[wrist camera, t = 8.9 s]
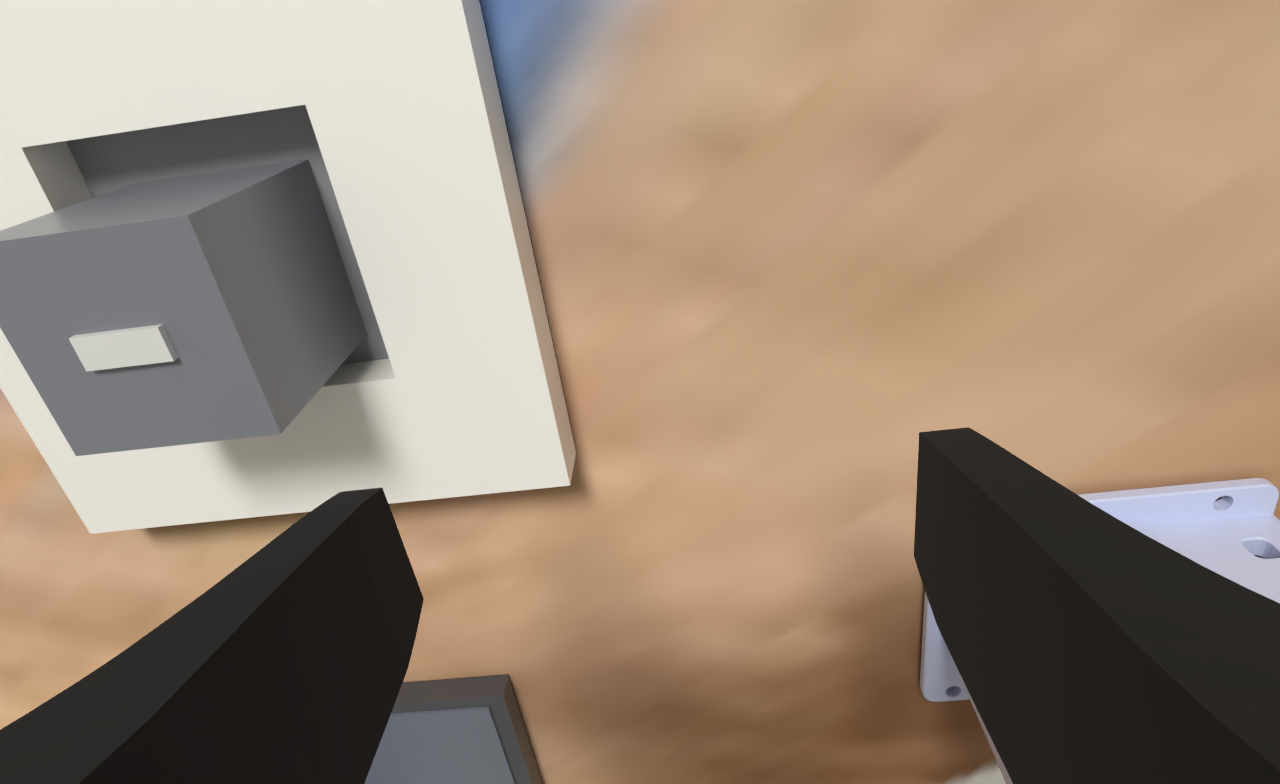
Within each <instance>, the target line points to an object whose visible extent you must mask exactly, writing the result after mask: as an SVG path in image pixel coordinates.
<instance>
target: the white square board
mask: <svg viewBox="0 0 1280 784" xmlns="http://www.w3.org/2000/svg"><path fill="white" fill-rule="evenodd" d="M307 159H308V160H309V163H310V166H311V169H312V172H313V175H314V178H315V181H316V184H317V187H318V190H319V193H320V196H321V198H322V201H323V204H324V207H325V210H326V213H327V216H328V219H329V222H330V225H331V228H332V231H333V234H334V237H335V240H336V243H337V246H338V249H339V252H340V255H341V258H342V261H343V264H344V267H345V269H346V272H347V275H348V278H349V281H350V284H351V287H352V290H353V293H354V296H355V299H356V302H357V305H358V308H359V311H360V314H361V317H362V320H363V323H364V326H365V329H366V332H367V335H366V337H365V338H364V339H363V340H362V341H361V342H360V343H359V345H358V346H357V347H356V348H355V349H354V350H353V352H352V353H351V354H350V355H349V356H348V357H347V358H346V360H345V361H344V362H343V363H342V364H341V365H340V367H339V368H338V369H337V370H336V371H335V372H334V373H333V375H332V376H331V377H330V378H329V379H328V380H327V382H326V383H325V384H324V385H323V386H322V387H321V388H320V390H319V391H318V392H317V393H316V394H315V395H314V396H313V398H312V399H311V400H310V401H309V402H308V403H307V405H306V406H305V407H304V408H303V409H302V410H301V411H300V413H299V414H298V415H297V416H296V417H295V418H294V420H293V421H292V422H291V423H290V424H289V425H288V426H287V428H286V429H285V430H284V431H283V432H282V433H281V434H277V435H268V436H258V437H249V438H240V439H231V440H221V441H212V442H203V443H194V444H184V445H175V446H166V447H157V448H147V449H138V450H129V451H120V452H110V453H101V454H92V455H83V456H76V455H75V454H74V452H73V450H72V448H71V447H70V445H69V443H68V442H67V440H66V438H65V437H64V435H63V433H62V432H61V430H60V428H59V426H58V425H57V423H56V421H55V420H54V418H53V416H52V415H51V413H50V411H49V409H48V408H47V406H46V404H45V403H44V401H43V399H42V398H41V396H40V394H39V392H38V391H37V389H36V387H35V386H34V384H33V382H32V381H31V379H30V377H29V376H28V374H27V372H26V370H25V369H24V367H23V365H22V364H21V362H20V360H19V359H18V357H17V355H16V353H15V352H14V350H13V348H12V347H11V345H10V343H9V342H8V340H7V338H6V336H5V335H4V333H3V331H2V330H1V328H0V388H1V390H2V391H3V393H4V395H5V396H6V398H7V399H8V401H9V403H10V404H11V406H12V407H13V409H14V411H15V412H16V414H17V416H18V417H19V419H20V420H21V422H22V424H23V425H24V427H25V429H26V430H27V432H28V433H29V435H30V437H31V438H32V440H33V441H34V443H35V445H36V446H37V448H38V450H39V451H40V453H41V454H42V456H43V458H44V459H45V461H46V463H47V464H48V466H49V467H50V469H51V471H52V472H53V474H54V475H55V477H56V479H57V480H58V482H59V484H60V485H61V487H62V488H63V490H64V492H65V493H66V495H67V497H68V498H69V500H70V501H71V503H72V505H73V506H74V508H75V509H76V511H77V513H78V514H79V516H80V518H81V519H82V521H83V522H84V524H85V526H86V527H87V529H88V531H89V532H90V534H92V533H102V532H112V531H122V530H132V529H142V528H152V527H162V526H172V525H182V524H192V523H202V522H212V521H222V520H232V519H242V518H252V517H262V516H272V515H282V514H292V513H302V512H311V511H312V510H314V509H315V508H316V507H318V506H319V505H321V504H322V503H324V502H325V501H327V500H328V499H330V498H331V497H333V496H334V495H336V494H338V493H339V492H343V491H353V490H363V489H372V488H383V491H384V493H385V496H386V499H387V501H388V504H391V503H401V502H411V501H421V500H431V499H441V498H451V497H461V496H471V495H481V494H491V493H501V492H511V491H521V490H531V489H541V488H551V487H561V486H570V484H571V478H572V473H573V468H574V462H575V457H576V450H575V445H574V441H573V436H572V431H571V427H570V422H569V417H568V413H567V408H566V403H565V399H564V394H563V389H562V384H561V380H560V375H559V370H558V366H557V361H556V356H555V352H554V347H553V342H552V338H551V333H550V328H549V324H548V319H547V314H546V310H545V305H544V300H543V296H542V291H541V286H540V282H539V277H538V272H537V268H536V263H535V258H534V254H533V249H532V244H531V240H530V235H529V230H528V226H527V221H526V216H525V212H524V207H523V202H522V198H521V193H520V188H519V184H518V179H517V174H516V170H515V165H514V160H513V155H512V151H511V146H510V141H509V137H508V132H507V127H506V123H505V118H504V113H503V109H502V104H501V99H500V95H499V90H498V85H497V81H496V76H495V71H494V67H493V62H492V57H491V53H490V48H489V43H488V39H487V34H486V29H485V25H484V20H483V15H482V11H481V6H480V1H479V0H0V231H1V230H4V229H7V228H9V227H12V226H15V225H18V224H21V223H23V222H26V221H29V220H32V219H35V218H37V217H40V216H43V215H46V214H49V213H51V212H54V211H57V210H60V209H63V208H65V207H68V206H71V205H74V204H77V203H80V202H82V201H85V200H88V199H91V198H94V197H96V196H99V195H102V194H105V193H108V192H110V191H113V190H116V189H119V188H122V187H124V186H127V185H131V184H138V183H145V182H152V181H159V180H166V179H173V178H180V177H187V176H194V175H201V174H208V173H215V172H222V171H229V170H236V169H243V168H250V167H257V166H265V165H272V164H279V163H286V162H293V161H300V160H307Z"/></svg>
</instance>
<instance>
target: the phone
mask: <svg viewBox="0 0 1280 784" xmlns="http://www.w3.org/2000/svg"><path fill="white" fill-rule="evenodd" d="M364 784H543V782H542V779H541V776H540V772H539V769H538V766H537V763H536V760H535V757H534V754H533V750H532V747H531V744H530V741H529V738H528V735H527V732H526V728H525V725H524V722H523V719H522V716H521V713H520V710H519V706H518V703H517V700H516V697H515V694H514V691H513V688H512V684H511V681H510V678H509V675H497V676H484V677H471V678H458V679H446V680H433V681H420V682H407V683H402V685H401V688H400V691H399V693H398V696H397V699H396V702H395V704H394V707H393V710H392V712H391V715H390V718H389V720H388V723H387V726H386V728H385V731H384V733H383V736H382V739H381V741H380V744H379V747H378V749H377V752H376V754H375V757H374V760H373V762H372V765H371V767H370V770H369V773H368V775H367V778H366V781H365V783H364Z"/></svg>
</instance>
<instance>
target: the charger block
mask: <svg viewBox="0 0 1280 784" xmlns="http://www.w3.org/2000/svg"><path fill="white" fill-rule="evenodd" d="M0 328H1V330H2V331H3V333H4V335H5V336H6V338H7V340H8V342H9V343H10V345H11V347H12V348H13V350H14V352H15V353H16V355H17V357H18V359H19V360H20V362H21V364H22V365H23V367H24V369H25V370H26V372H27V374H28V376H29V377H30V379H31V381H32V382H33V384H34V386H35V387H36V389H37V391H38V392H39V394H40V396H41V398H42V399H43V401H44V403H45V404H46V406H47V408H48V409H49V411H50V413H51V415H52V416H53V418H54V420H55V421H56V423H57V425H58V426H59V428H60V430H61V432H62V433H63V435H64V437H65V438H66V440H67V442H68V443H69V445H70V447H71V448H72V450H73V452H74V454H75V455H76V456H83V455H92V454H101V453H110V452H120V451H129V450H138V449H147V448H157V447H166V446H175V445H184V444H194V443H203V442H212V441H221V440H231V439H240V438H249V437H258V436H268V435H277V434H281V433H282V432H283V431H284V430H285V429H286V428H287V426H288V425H289V424H290V423H291V422H292V421H293V420H294V418H295V417H296V416H297V415H298V414H299V413H300V411H301V410H302V409H303V408H304V407H305V406H306V405H307V403H308V402H309V401H310V400H311V399H312V398H313V396H314V395H315V394H316V393H317V392H318V391H319V390H320V388H321V387H322V386H323V385H324V384H325V383H326V382H327V380H328V379H329V378H330V377H331V376H332V375H333V373H334V372H335V371H336V370H337V369H338V368H339V367H340V365H341V364H342V363H343V362H344V361H345V360H346V358H347V357H348V356H349V355H350V354H351V353H352V352H353V350H354V349H355V348H356V347H357V346H358V345H359V343H360V342H361V341H362V340H363V339H364V338H365V337H366V335H367V332H366V329H365V326H364V323H363V320H362V317H361V314H360V311H359V308H358V305H357V302H356V299H355V296H354V293H353V290H352V287H351V284H350V281H349V278H348V275H347V272H346V269H345V267H344V264H343V261H342V258H341V255H340V252H339V249H338V246H337V243H336V240H335V237H334V234H333V231H332V228H331V225H330V222H329V219H328V216H327V213H326V210H325V207H324V204H323V201H322V198H321V196H320V193H319V190H318V187H317V184H316V181H315V178H314V175H313V172H312V169H311V166H310V163H309V160H308V159H307V160H300V161H293V162H286V163H279V164H272V165H265V166H257V167H250V168H243V169H236V170H229V171H222V172H215V173H208V174H201V175H194V176H187V177H180V178H173V179H166V180H159V181H152V182H145V183H138V184H131V185H127V186H124V187H122V188H119V189H116V190H113V191H110V192H108V193H105V194H102V195H99V196H96V197H94V198H91V199H88V200H85V201H82V202H80V203H77V204H74V205H71V206H68V207H65V208H63V209H60V210H57V211H54V212H51V213H49V214H46V215H43V216H40V217H37V218H35V219H32V220H29V221H26V222H23V223H21V224H18V225H15V226H12V227H9V228H7V229H4V230H1V231H0Z"/></svg>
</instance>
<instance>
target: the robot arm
mask: <svg viewBox="0 0 1280 784" xmlns="http://www.w3.org/2000/svg"><path fill="white" fill-rule="evenodd" d="M1219 497H1222V498H1221V499H1219V500H1218V501H1215V500H1217V499H1218V498H1219ZM1278 498H1279V491H1278V489H1277V487H1276V486H1274V485H1273V484H1272V483H1271V482H1269V481H1268V480H1266V479H1264V478H1252V479H1241V480H1230V481H1220V482H1209V483H1198V484H1187V485H1177V486H1166V487H1155V488H1145V489H1134V490H1123V491H1112V492H1102V493H1091V494H1080V495H1077V494H1075V493H1073V492H1072V491H1070V490H1069V489H1067V488H1065V487H1064V486H1062V485H1061V484H1059V483H1057V482H1056V481H1054V480H1052V479H1051V478H1049V477H1048V476H1046V475H1045V474H1043V473H1041V472H1040V471H1038V470H1037V469H1035V468H1034V467H1032V466H1030V465H1029V464H1027V463H1026V462H1024V461H1022V460H1021V459H1019V458H1018V457H1016V456H1015V455H1013V454H1011V453H1010V452H1008V451H1007V450H1005V449H1004V448H1002V447H1000V446H999V445H997V444H996V443H994V442H992V441H991V440H989V439H987V438H986V437H984V436H982V435H981V434H979V433H977V432H976V431H974V430H972V429H970V428H959V429H949V430H939V431H930V432H920V433H919V454H918V476H917V499H916V522H915V544H914V557H915V561H916V564H917V567H918V570H919V573H920V576H921V579H922V583H923V586H924V589H925V598H924V616H923V635H922V653H921V671H920V688H921V691H922V694H923V696H924V697H925V698H926V699H927V700H929V701H932V702H943V701H957V700H970V701H971V703H972V706H973V708H974V710H975V713H976V715H977V717H978V719H979V722H980V724H981V726H982V729H983V731H984V733H985V735H986V738H987V740H988V742H989V745H990V747H991V749H992V752H993V754H994V756H995V758H996V761H997V763H998V765H999V768H1000V770H1001V772H1002V774H1003V777H1004V779H1005V781H1006V784H1280V520H1279V519H1278V518H1276V517H1275V516H1274V515H1273V513H1274V510H1275V507H1276V504H1277V501H1278ZM422 604H423V596H422V593H421V591H420V588H419V585H418V583H417V580H416V577H415V575H414V572H413V569H412V566H411V564H410V561H409V558H408V556H407V553H406V550H405V547H404V545H403V542H402V539H401V537H400V534H399V531H398V529H397V526H396V523H395V520H394V518H393V515H392V512H391V510H390V507H389V504H388V501H387V499H386V496H385V493H384V491H383V488H372V489H363V490H353V491H343V492H339V493H338V494H336V495H334V496H333V497H331V498H330V499H328V500H327V501H325V502H324V503H322V504H321V505H319V506H318V507H316V508H315V509H314V510H312V511H311V512H310V513H308V514H307V515H306V516H304V517H303V518H301V519H300V520H299V521H297V522H296V523H295V524H294V525H292V526H291V527H290V528H288V529H287V530H286V531H284V532H283V533H282V534H280V535H279V536H278V537H277V538H275V539H274V540H273V541H271V542H270V543H269V544H268V545H266V546H265V547H264V548H262V549H261V550H260V551H258V552H257V553H256V554H255V555H253V556H252V557H251V558H249V559H248V560H247V561H246V562H244V563H243V564H242V565H240V566H239V567H238V568H236V569H235V570H234V571H233V572H231V573H230V574H229V575H227V576H226V577H225V578H223V579H222V580H221V581H220V582H218V583H217V584H216V585H214V586H213V587H212V588H210V589H209V590H208V591H206V592H205V593H204V594H202V595H201V596H200V597H198V598H197V599H195V600H194V601H193V602H191V603H190V604H189V605H187V606H186V607H184V608H183V609H182V610H180V611H179V612H178V613H176V614H175V615H173V616H172V617H171V618H169V619H168V620H166V621H165V622H164V623H162V624H161V625H160V626H158V627H157V628H155V629H154V630H153V631H151V632H150V633H148V634H147V635H146V636H144V637H143V638H142V639H140V640H139V641H137V642H136V643H135V644H133V645H132V646H130V647H129V648H128V649H126V650H125V651H123V652H122V653H120V654H119V655H117V656H116V657H115V658H113V659H112V660H110V661H109V662H107V663H106V664H104V665H103V666H101V667H100V668H98V669H97V670H95V671H94V672H92V673H91V674H89V675H88V676H86V677H85V678H83V679H82V680H80V681H78V682H77V683H75V684H74V685H72V686H71V687H69V688H67V689H66V690H64V691H63V692H61V693H59V694H58V695H56V696H55V697H53V698H51V699H50V700H48V701H47V702H45V703H43V704H42V705H40V706H39V707H37V708H36V709H34V710H32V711H31V712H29V713H28V714H26V715H24V716H23V717H21V718H19V719H18V720H16V721H14V722H13V723H11V724H9V725H8V726H6V727H4V728H3V729H1V730H0V784H364V783H365V781H366V778H367V775H368V773H369V770H370V767H371V765H372V762H373V760H374V757H375V754H376V752H377V749H378V747H379V744H380V741H381V739H382V736H383V733H384V731H385V728H386V726H387V723H388V720H389V718H390V715H391V712H392V710H393V707H394V704H395V702H396V699H397V696H398V693H399V691H400V688H401V685H402V683H403V680H404V677H405V674H406V671H407V669H408V665H409V661H410V657H411V653H412V649H413V645H414V641H415V637H416V632H417V628H418V623H419V618H420V613H421V609H422Z"/></svg>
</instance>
